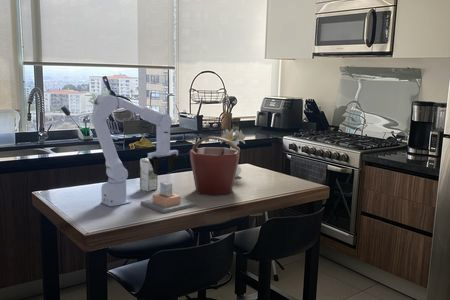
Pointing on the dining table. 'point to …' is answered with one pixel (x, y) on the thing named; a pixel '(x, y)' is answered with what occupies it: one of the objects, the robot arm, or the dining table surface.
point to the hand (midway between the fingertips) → (163, 173)
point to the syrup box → (147, 176)
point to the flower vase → (235, 138)
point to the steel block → (166, 189)
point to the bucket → (214, 168)
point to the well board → (168, 203)
